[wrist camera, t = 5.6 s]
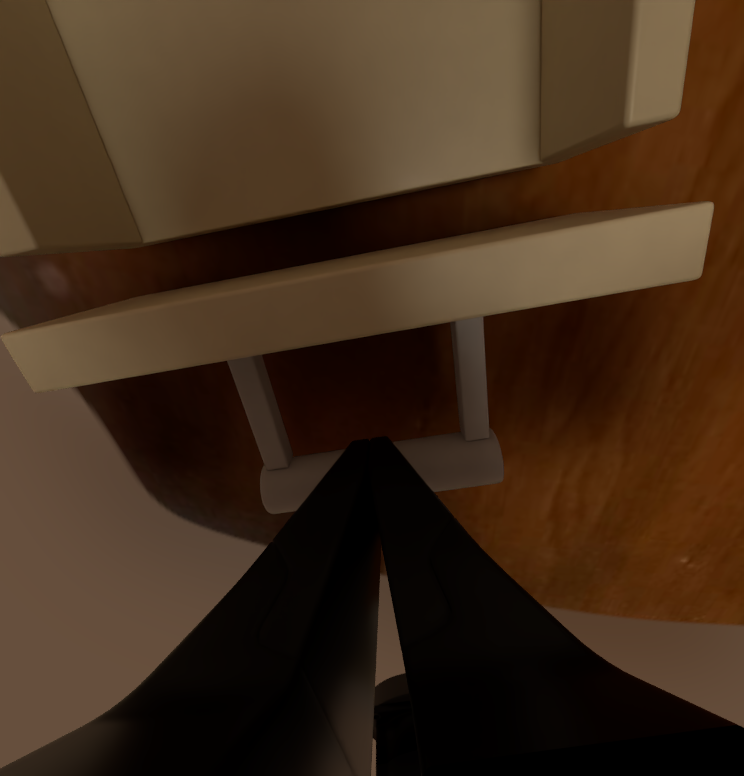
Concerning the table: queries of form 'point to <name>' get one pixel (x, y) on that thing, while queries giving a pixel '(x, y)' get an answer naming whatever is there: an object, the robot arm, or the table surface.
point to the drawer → (326, 179)
